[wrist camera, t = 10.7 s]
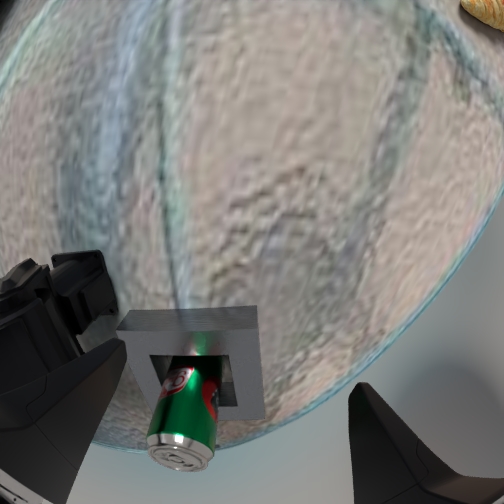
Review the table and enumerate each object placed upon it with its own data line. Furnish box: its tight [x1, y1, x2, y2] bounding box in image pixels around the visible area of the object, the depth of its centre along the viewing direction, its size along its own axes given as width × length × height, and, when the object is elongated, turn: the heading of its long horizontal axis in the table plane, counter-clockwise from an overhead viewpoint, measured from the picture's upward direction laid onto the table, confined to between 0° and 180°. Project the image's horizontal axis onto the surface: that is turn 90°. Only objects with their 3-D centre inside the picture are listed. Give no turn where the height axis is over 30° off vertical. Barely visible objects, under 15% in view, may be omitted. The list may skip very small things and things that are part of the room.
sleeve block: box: [116, 305, 265, 420], centre depth 24 cm, size 12×12×4 cm
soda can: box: [146, 355, 224, 472], centre depth 20 cm, size 5×5×12 cm
